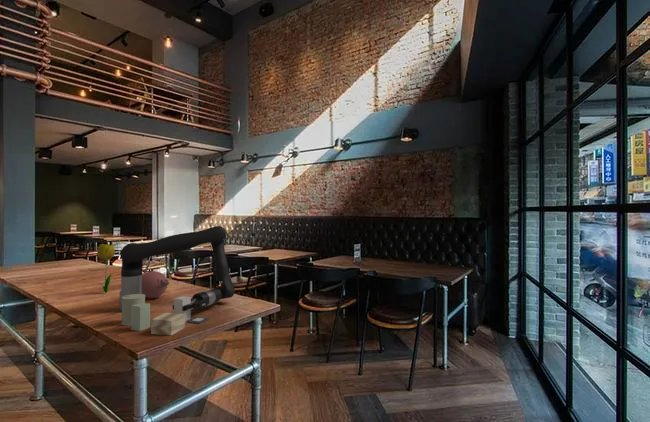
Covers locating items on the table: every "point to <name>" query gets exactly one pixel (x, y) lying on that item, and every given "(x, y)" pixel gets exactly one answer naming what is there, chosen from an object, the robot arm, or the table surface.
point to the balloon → (153, 284)
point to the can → (126, 306)
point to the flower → (106, 254)
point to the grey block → (180, 303)
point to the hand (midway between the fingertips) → (178, 308)
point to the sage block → (140, 316)
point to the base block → (167, 324)
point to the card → (198, 320)
